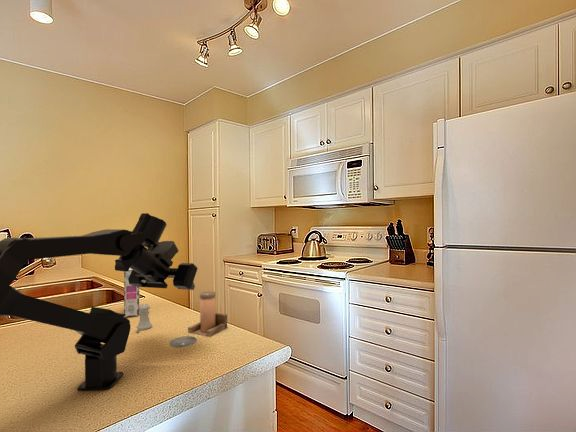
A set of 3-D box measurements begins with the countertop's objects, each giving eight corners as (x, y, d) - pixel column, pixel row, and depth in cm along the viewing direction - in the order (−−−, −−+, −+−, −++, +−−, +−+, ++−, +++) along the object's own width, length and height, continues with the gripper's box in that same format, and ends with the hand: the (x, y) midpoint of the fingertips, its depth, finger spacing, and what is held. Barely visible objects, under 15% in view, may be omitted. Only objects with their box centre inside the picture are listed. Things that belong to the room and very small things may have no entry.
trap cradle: (209, 340, 90) (209, 322, 90) (188, 335, 94) (187, 318, 94) (227, 331, 97) (227, 314, 97) (206, 327, 101) (206, 311, 101)
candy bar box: (139, 316, 114) (139, 269, 114) (123, 318, 112) (123, 270, 112) (139, 308, 124) (139, 265, 124) (125, 310, 122) (124, 266, 122)
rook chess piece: (146, 334, 96) (146, 307, 96) (133, 333, 97) (132, 306, 97) (155, 329, 100) (155, 303, 100) (142, 328, 101) (142, 302, 101)
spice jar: (214, 332, 94) (214, 294, 94) (198, 333, 93) (198, 295, 93) (217, 327, 98) (216, 291, 98) (201, 327, 98) (201, 291, 98)
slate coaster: (193, 350, 84) (193, 345, 84) (165, 351, 83) (165, 346, 83) (199, 340, 91) (199, 335, 91) (173, 341, 90) (173, 336, 90)
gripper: (187, 233, 80) (217, 261, 92) (129, 234, 86) (163, 261, 98) (171, 275, 74) (205, 299, 86) (109, 272, 80) (149, 296, 92)
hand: (180, 287), depth 90 cm, fingers open, 9 cm apart
